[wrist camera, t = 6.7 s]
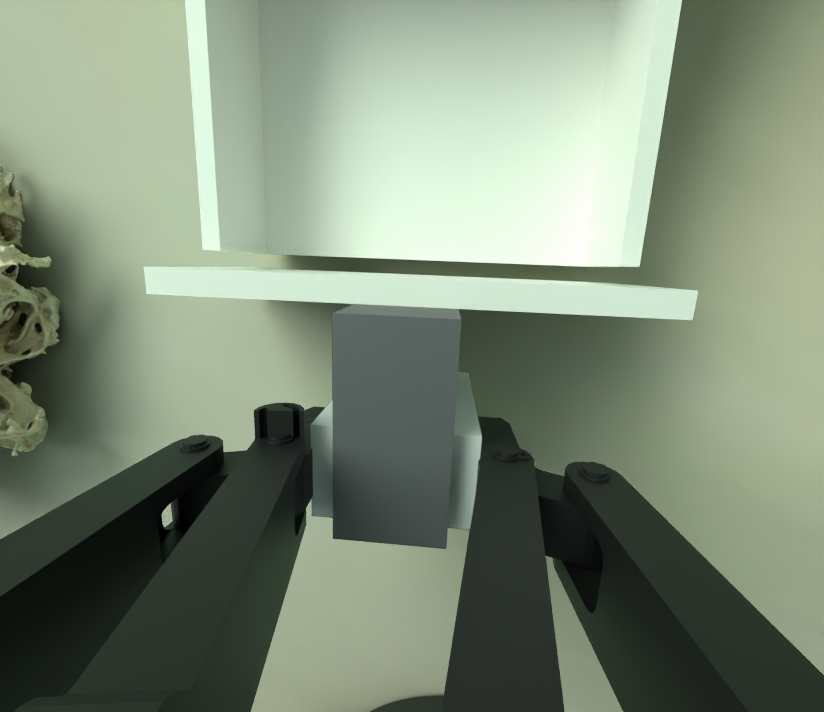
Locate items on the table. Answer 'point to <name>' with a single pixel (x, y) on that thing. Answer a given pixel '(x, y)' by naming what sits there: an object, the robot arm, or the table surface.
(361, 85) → the tray
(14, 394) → the dried lichen
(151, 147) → the table surface
